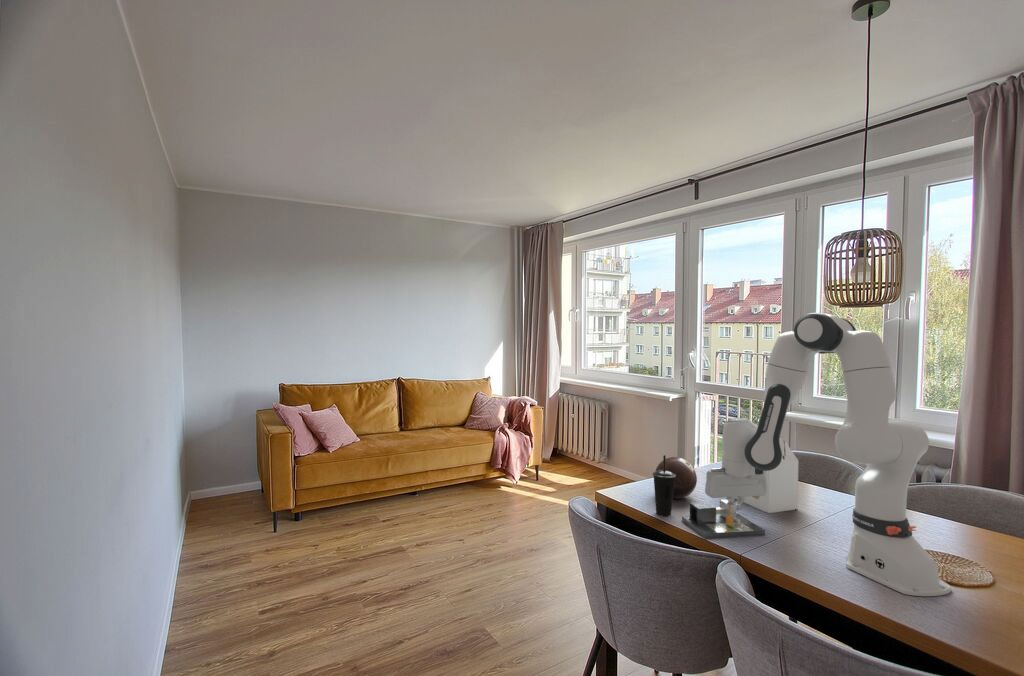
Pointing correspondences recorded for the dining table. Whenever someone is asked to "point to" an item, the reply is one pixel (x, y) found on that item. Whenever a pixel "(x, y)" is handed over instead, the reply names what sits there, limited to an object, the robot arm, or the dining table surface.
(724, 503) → the white block
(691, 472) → the wooden sphere
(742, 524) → the gauge frame
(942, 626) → the dining table surface
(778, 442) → the robot arm
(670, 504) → the drinking cup
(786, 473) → the gable box
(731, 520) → the peak needle
